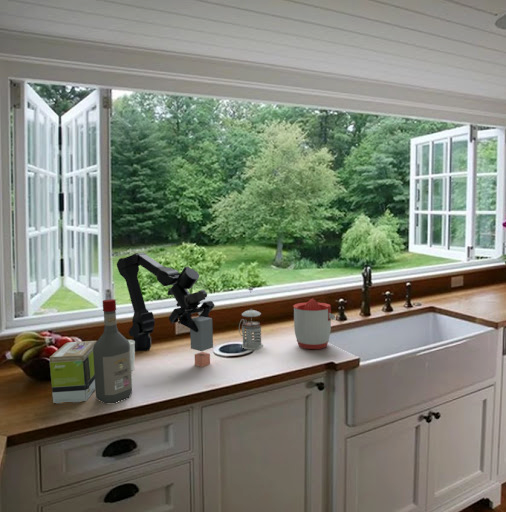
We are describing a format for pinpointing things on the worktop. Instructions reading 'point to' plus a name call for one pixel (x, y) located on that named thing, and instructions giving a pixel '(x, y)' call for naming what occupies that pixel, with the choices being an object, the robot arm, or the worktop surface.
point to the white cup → (132, 353)
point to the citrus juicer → (312, 324)
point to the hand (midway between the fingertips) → (203, 329)
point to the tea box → (73, 372)
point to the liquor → (112, 360)
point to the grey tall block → (202, 334)
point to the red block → (202, 359)
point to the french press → (251, 330)
